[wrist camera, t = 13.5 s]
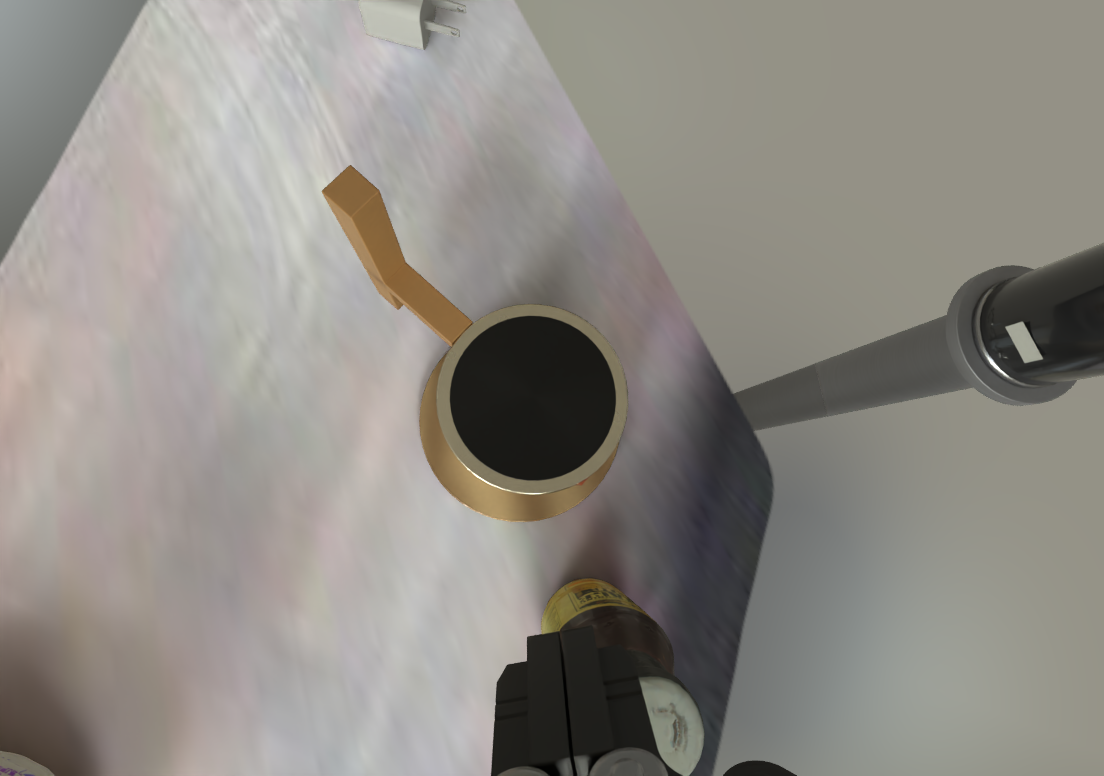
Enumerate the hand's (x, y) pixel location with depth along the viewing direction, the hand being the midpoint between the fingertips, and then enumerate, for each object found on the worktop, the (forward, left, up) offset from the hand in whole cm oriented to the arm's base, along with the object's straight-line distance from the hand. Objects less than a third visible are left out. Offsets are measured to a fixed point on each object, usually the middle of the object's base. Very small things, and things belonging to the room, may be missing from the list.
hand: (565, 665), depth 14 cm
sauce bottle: (-4, +6, -29) cm, 30 cm away
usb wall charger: (+1, -39, -29) cm, 49 cm away
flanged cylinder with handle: (0, -11, -28) cm, 30 cm away
